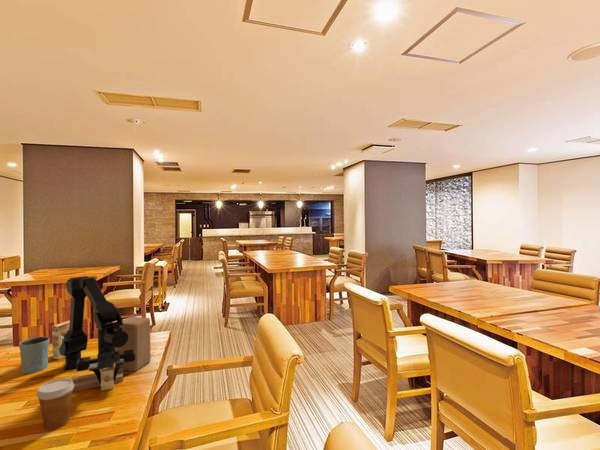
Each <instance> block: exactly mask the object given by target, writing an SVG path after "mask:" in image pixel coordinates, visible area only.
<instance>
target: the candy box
mask: <svg viewBox="0 0 600 450" xmlns="http://www.w3.org/2000/svg"><path fill="white" fill-rule="evenodd" d="M69 325H70V319H68V320H65V321H63V322H60V323H56V324H52V326H51V331H52V332H51V333H52V341H51V342H52V359H53V360H62V359H64V358H65V356H63V355H61V354H60V351H59V348H60V346H61V344H62V342H63V340H64V336H65V334H66V333H67V332H68V330H69Z"/></svg>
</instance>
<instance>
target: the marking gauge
mask: <svg viewBox="0 0 600 450" xmlns="http://www.w3.org/2000/svg"><path fill="white" fill-rule="evenodd" d="M114 370H115V365H114V366H113V367H111V368H103V369H100V371H101V386H100V391H101V392H103V391H107V390H111V389H114V388H115V383H114Z"/></svg>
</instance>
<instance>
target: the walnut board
mask: <svg viewBox="0 0 600 450" xmlns="http://www.w3.org/2000/svg"><path fill="white" fill-rule="evenodd" d="M67 379H71V380H72V381H73V383H74V384H75V386H74V388H73V392H77V391H84V390H88V389H92V388H98V387H101V384H100V383H99V380H98V378H97V376H96V374H95V373H94V372H93V373H91V374H90V373H89V374H83V375H80V376H75V377H68V378H67ZM121 382H124V370H123V368H121V369H119V370H118V373H117V376H116V379H115V381H114V384H117V383H121ZM73 392H72V393H73Z"/></svg>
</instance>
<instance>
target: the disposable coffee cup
mask: <svg viewBox="0 0 600 450" xmlns="http://www.w3.org/2000/svg"><path fill="white" fill-rule="evenodd" d="M74 386H75V384H74V383H73V381H72V380H71V379H68V378H64V377H63V378H59V379H54V380H51V381H48V382H45V383H43V384H42V385H41V386H39V387H38V389H37V392H36V394H35V395H36V397H37V398H38V402H39V408H40V412H41V418H42V423H43V427H44V429H45V430H56V429H58V428H61V427H63V426H65V425H66V424H67V423H68V422H69V421H70V413H71V406H72V398H73V388H74Z"/></svg>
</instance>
